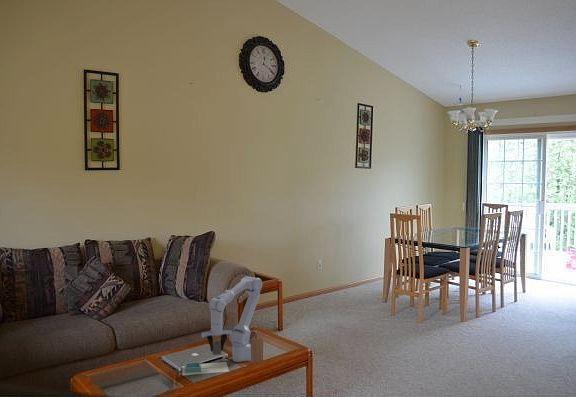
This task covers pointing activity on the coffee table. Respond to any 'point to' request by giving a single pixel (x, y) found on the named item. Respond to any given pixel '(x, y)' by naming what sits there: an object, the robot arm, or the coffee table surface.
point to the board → (204, 368)
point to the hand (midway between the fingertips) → (216, 350)
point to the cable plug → (216, 347)
